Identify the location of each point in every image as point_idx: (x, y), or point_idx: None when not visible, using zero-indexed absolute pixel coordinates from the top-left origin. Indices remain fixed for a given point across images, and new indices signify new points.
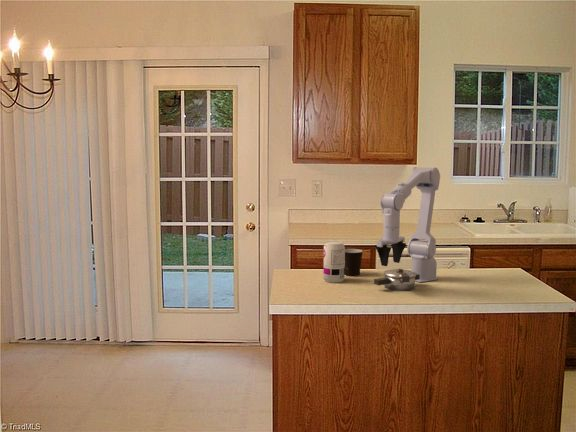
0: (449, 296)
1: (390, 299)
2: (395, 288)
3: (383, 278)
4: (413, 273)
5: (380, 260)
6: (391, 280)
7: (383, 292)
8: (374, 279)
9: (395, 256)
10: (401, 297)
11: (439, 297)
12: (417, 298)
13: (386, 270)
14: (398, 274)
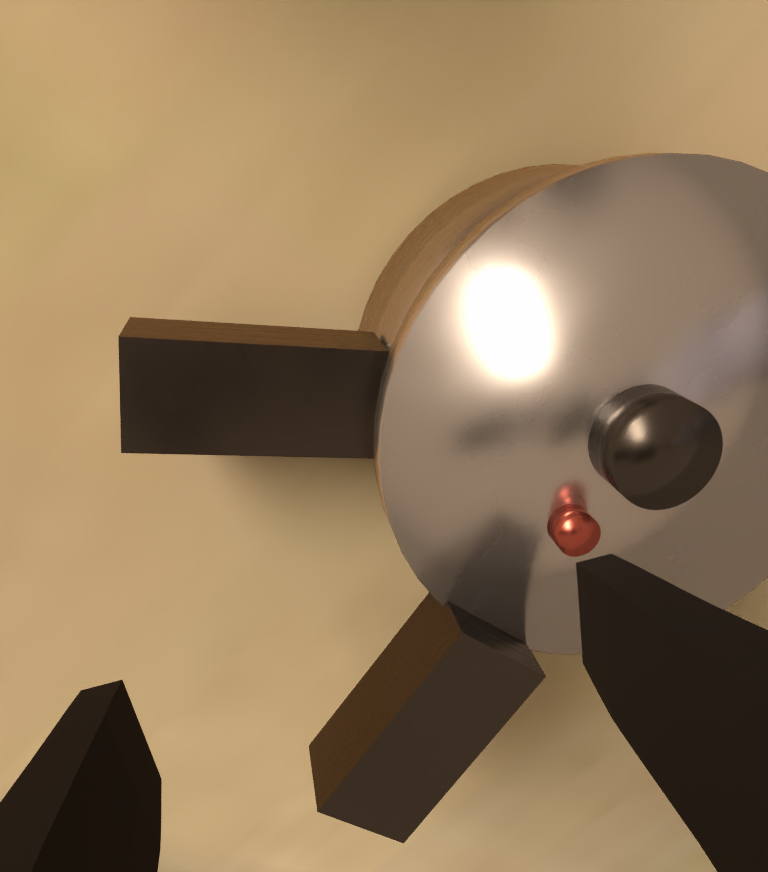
0: (621, 816)
1: (56, 701)
2: None
3: (293, 390)
4: (736, 569)
5: (19, 778)
6: None
7: None
8: (119, 344)
9: (659, 684)
10: (224, 690)
11: (530, 810)
12: None
13: (602, 175)
14: (522, 516)
